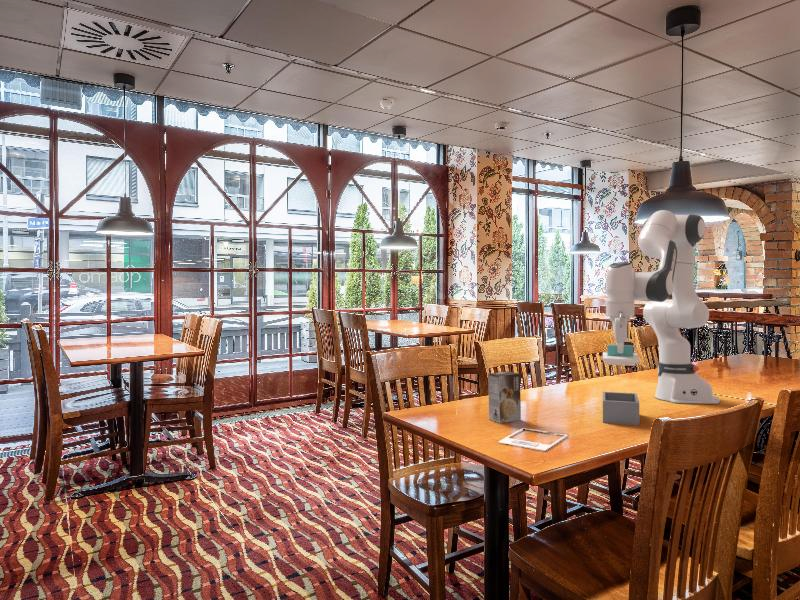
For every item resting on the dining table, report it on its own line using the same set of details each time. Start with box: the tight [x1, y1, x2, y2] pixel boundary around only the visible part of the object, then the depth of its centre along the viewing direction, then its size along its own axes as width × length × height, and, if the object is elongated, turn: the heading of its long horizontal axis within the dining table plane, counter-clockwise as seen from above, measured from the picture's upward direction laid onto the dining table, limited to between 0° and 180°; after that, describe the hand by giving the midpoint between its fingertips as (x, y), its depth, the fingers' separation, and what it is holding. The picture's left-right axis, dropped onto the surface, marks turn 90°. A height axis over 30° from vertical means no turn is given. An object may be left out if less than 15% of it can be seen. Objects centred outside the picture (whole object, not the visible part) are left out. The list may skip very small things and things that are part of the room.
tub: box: [602, 391, 640, 426], centre depth 187 cm, size 11×15×8 cm
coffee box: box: [487, 371, 522, 424], centre depth 190 cm, size 9×6×16 cm
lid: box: [602, 344, 640, 367], centre depth 186 cm, size 11×15×6 cm
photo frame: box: [497, 427, 569, 452], centre depth 166 cm, size 15×1×18 cm
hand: (620, 352), depth 186 cm, fingers closed on lid
